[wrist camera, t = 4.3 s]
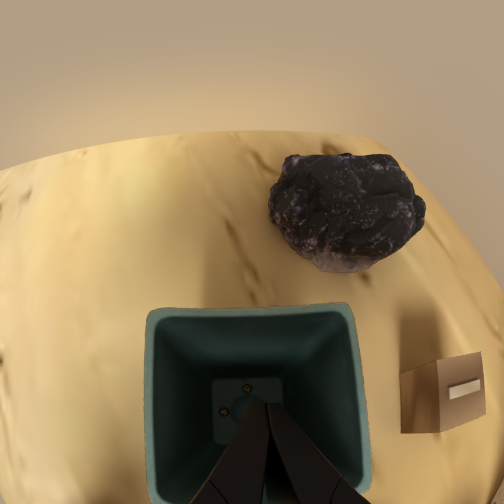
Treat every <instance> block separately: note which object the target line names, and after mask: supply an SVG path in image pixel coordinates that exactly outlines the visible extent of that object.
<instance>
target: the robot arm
mask: <svg viewBox="0 0 504 504" xmlns="http://www.w3.org/2000/svg"><path fill="white" fill-rule="evenodd" d="M264 482H265V487H266V494H267V500H268V504H371V503H370V502H369V501H367V500H366V499H365V498H364V497H363V496H361V495H360V494H359V493H358V492H357V491H356V490H355V489H354V488H353V487H352V486H351V485H350V484H349V483H348V482H347V481H346V480H345V478H344V477H341V474H340V473H339V472H338V471H337V470H336V469H335V468H334V467H333V465H332V464H331V463H330V462H329V461H328V460H327V459H326V458H325V456H324V455H323V454H322V453H321V452H320V451H319V449H318V448H317V447H316V446H315V445H314V444H313V442H312V441H311V440H310V439H309V438H308V437H307V435H306V434H305V433H304V432H303V431H302V429H301V428H300V427H299V426H298V425H297V423H296V422H295V421H294V420H293V418H292V417H291V416H290V415H289V413H288V412H287V411H286V410H285V408H284V407H283V406H282V405H281V404H280V403H267V404H265V403H264V402H252V403H251V405H250V407H249V408H248V410H247V412H246V414H245V416H244V417H243V419H242V421H241V423H240V425H239V426H238V428H237V430H236V432H235V433H234V435H233V437H232V438H231V440H230V442H229V444H228V445H227V447H226V449H225V450H224V452H223V454H222V455H221V457H220V459H219V460H218V462H217V464H216V465H215V467H214V468H213V470H212V472H211V473H210V475H209V476H208V480H206V481H205V482H204V484H203V485H202V487H201V489H200V490H199V491H198V493H197V494H196V495H195V497H194V498H193V500H192V501H191V502H190V503H189V504H262V498H263V490H264Z"/></svg>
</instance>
